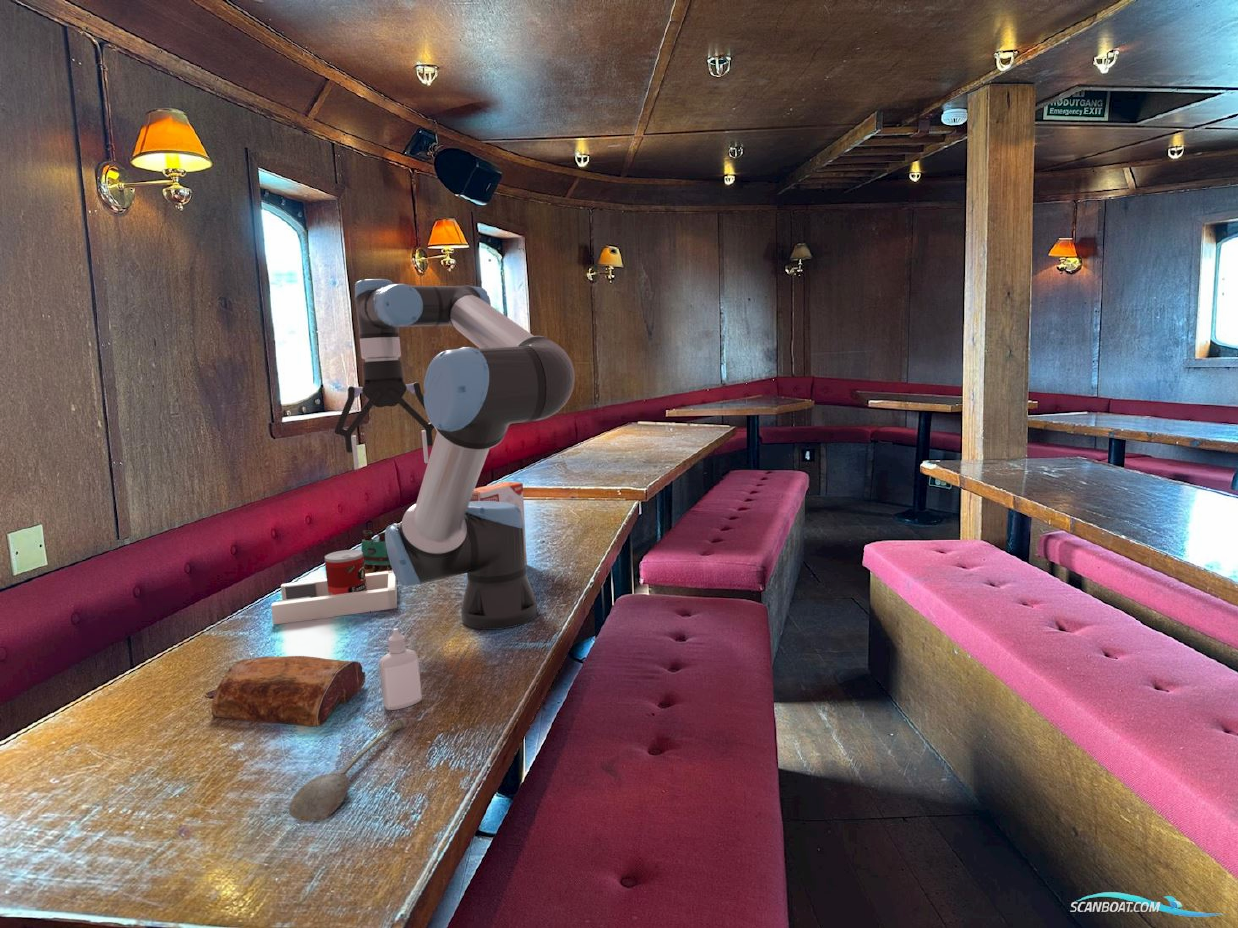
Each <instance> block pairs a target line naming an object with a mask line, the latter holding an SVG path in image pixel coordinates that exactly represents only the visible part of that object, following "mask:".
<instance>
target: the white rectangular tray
mask: <svg viewBox="0 0 1238 928" xmlns="http://www.w3.org/2000/svg"><path fill="white" fill-rule="evenodd" d="M365 577H366V587H367V591H360V592H352V593H344V594H337V595H329V593H328V585H327V578H320V579H312V580H310V579H309V580H302V581H296V582H287V583H282V584H281V585H280V592H281V593H280V594H281V600H278V601H276V602H271V605H270V607H271V608H270V609H271V616H272V623H273V624H272V625H273V626H274V625H281V624H288V623H296V622H302V621H303V622H304V621H311V620H312V621H313V620H318V619H326V618H334V617H339V616H340V617H341V616H348V615H354V614H356V615H357V614H363V613H370V611H371V612H377V611H386V610H392V609H397V608H398V602H397V601H398V585H397V579H396V577H395V575H394V573H393V570H389V571H384V572H378V571H376V572H372V573H368V574H365Z"/></svg>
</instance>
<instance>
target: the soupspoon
mask: <svg viewBox="0 0 1238 928" xmlns="http://www.w3.org/2000/svg"><path fill="white" fill-rule="evenodd" d="M405 728H407V722H406V721H405V719H403V718H397V719H396V720H395V723H394V724H392V725H391V726H390V727H387V728H386V730H385V731H384V732H382V733H381V734H379V736H377V737H376V738H374V740H372V741H371V742H370V743H369V744H367V745H366V746H365V747H364V748H363V749H361V750H360V751H359V752H358V753H357V754H356V755H355V756H353V758H351V760H350V761H348V762H347V763H346V764H345V765H344V767H342V768H341V769H340V770H339V771H338V772H337V773H328V774H327V773H326V774H323V775H320V776H318V777H315V778H313V779H311V780H309V781H307V782H306V783H305V784H303V785H302V786H301V787H300V788H299V789H298V790H297V792H295V794H294V796H293V797H292V799H291V801H290V803H289V808H288V809H289V816H291V817H292V818H294V819H296V820H300V821H317V820H322V819H323V820H324V819H326V818H329V817H330V816H331V815H332V814H334V812H335V811H336V810H337V809H338V808H339V806H340V805H341V804H342V802H343V801H344V799H345V798H346V796H347V794H348V791H349V787H350V777H349V776H347V775H346V774H347V773H348V771H350V769H351V768H353V766H354V765H355V764H356V763H357V762H358V761H359V760H360V759H361V758H362V757H363V756H364V755H366V754H367V753H368V752H369V751H370V750H371V749H372V748H374V746H375V745H376V744H378V743H379V742H380V741H381V740H383V738H385V737H386V736H387V735H392V734H393V733H394V732H396V731H400V730H401V729H405Z"/></svg>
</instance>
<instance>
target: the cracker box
mask: <svg viewBox="0 0 1238 928" xmlns="http://www.w3.org/2000/svg"><path fill="white" fill-rule="evenodd" d="M472 501H496V502H505V503H510V504H514V505H516V506H517V507H519V508H520V510H521V513H522V519H523V525H524V544H525V560H526V566H527V565H528V561H527V544H526V543H527V542H526V523H525V522H526V521H525V520H526V519H525V505H524V486H523V483H522V482H518V481H503V482H499V483H493V484H490V485H486V486H480V487H475V489H474V492H473V494H472V497H471V500H470V502H472Z"/></svg>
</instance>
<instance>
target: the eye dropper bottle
mask: <svg viewBox="0 0 1238 928" xmlns="http://www.w3.org/2000/svg"><path fill="white" fill-rule="evenodd" d="M387 641H388V653H386V654H384V655H383V656H382V657H381V658H380V660H379V663H378V665H379V666H378V667H379V676H380V687H381V695H382V704H383V705H382V706H383V707H384V708H385V710H387V711H393V710H400V709H405V708H408V707H411V706H413V705H416V704H418V703H420V702H421V701H422V699H423V694H422V684H421V682H422V681H421V674H420V663H419V657H418V656H419V655H418V654H417V652H416V651H415V650H413V649H409V648H407V647H406V646H407V645H406V637H405V636H404V635H403V634H401V633H400V631H399V628H397V627H395V628H393V629H392V636H390V637H388V640H387Z"/></svg>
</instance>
